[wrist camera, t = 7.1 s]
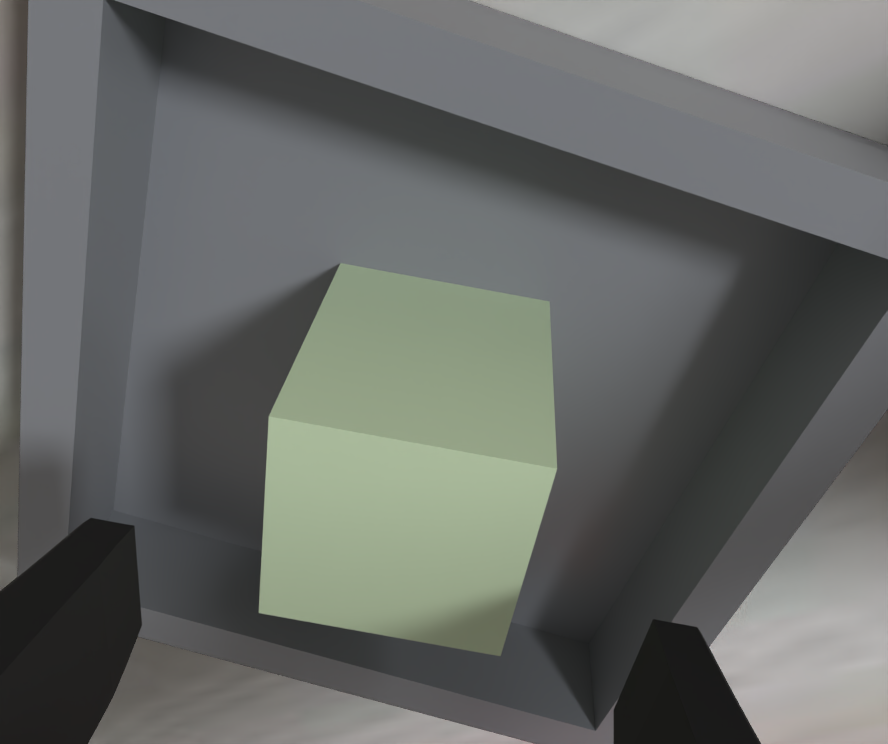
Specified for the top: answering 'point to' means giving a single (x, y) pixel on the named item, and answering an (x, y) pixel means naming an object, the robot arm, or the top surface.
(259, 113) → the tray
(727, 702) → the robot arm
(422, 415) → the green block
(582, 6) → the top surface
